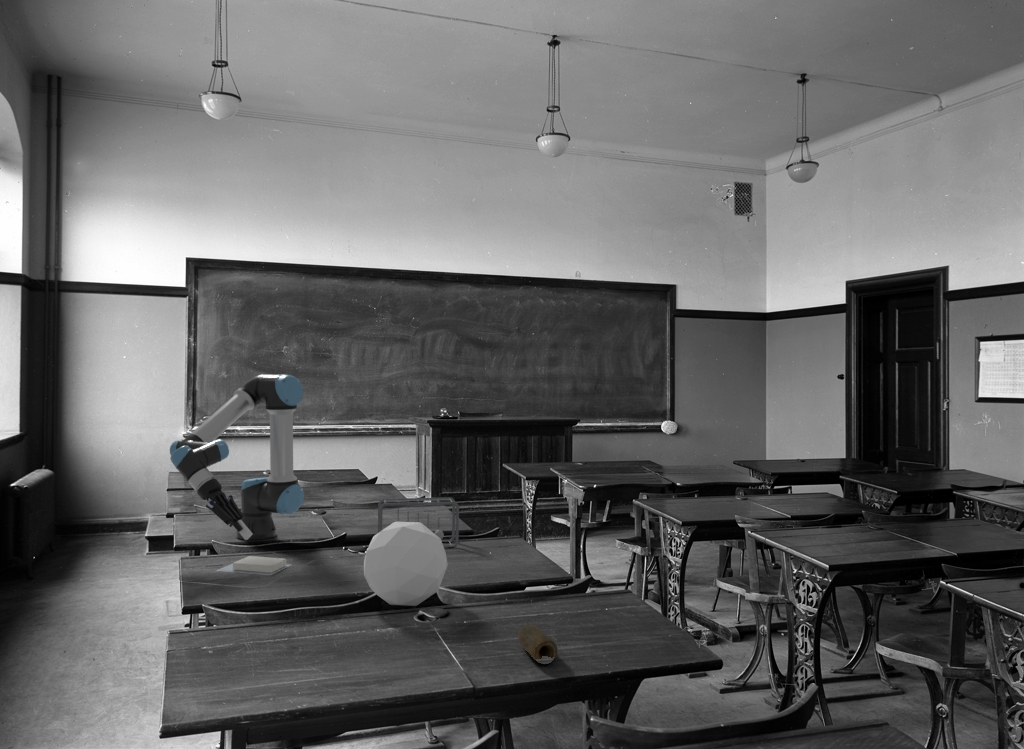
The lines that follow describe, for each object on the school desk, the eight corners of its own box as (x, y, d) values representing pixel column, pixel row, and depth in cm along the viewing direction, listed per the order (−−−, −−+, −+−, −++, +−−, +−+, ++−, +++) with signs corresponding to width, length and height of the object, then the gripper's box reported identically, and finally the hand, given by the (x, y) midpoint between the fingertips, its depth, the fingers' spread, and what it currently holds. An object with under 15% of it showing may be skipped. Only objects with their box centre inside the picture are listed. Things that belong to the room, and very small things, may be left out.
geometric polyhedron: (398, 624, 240) (410, 547, 255) (459, 610, 226) (468, 529, 241) (338, 599, 226) (354, 518, 241) (399, 582, 212) (412, 498, 227)
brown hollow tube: (562, 666, 187) (563, 638, 187) (535, 669, 185) (535, 641, 185) (539, 644, 201) (539, 618, 201) (513, 647, 199) (513, 621, 199)
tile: (232, 562, 264) (271, 565, 261) (249, 555, 274) (286, 558, 271) (232, 570, 264) (271, 573, 261) (249, 563, 274) (286, 566, 271)
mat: (215, 571, 264) (215, 570, 264) (238, 561, 277) (238, 560, 277) (270, 576, 259) (270, 575, 259) (291, 566, 273) (291, 564, 273)
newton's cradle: (454, 542, 314) (455, 497, 314) (458, 548, 304) (459, 501, 304) (377, 544, 308) (378, 498, 307) (378, 550, 297) (379, 503, 297)
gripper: (210, 489, 279) (252, 540, 275) (186, 495, 266) (230, 548, 262) (223, 475, 277) (266, 525, 274) (201, 480, 265) (245, 533, 261)
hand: (249, 537), depth 268 cm, fingers closed
